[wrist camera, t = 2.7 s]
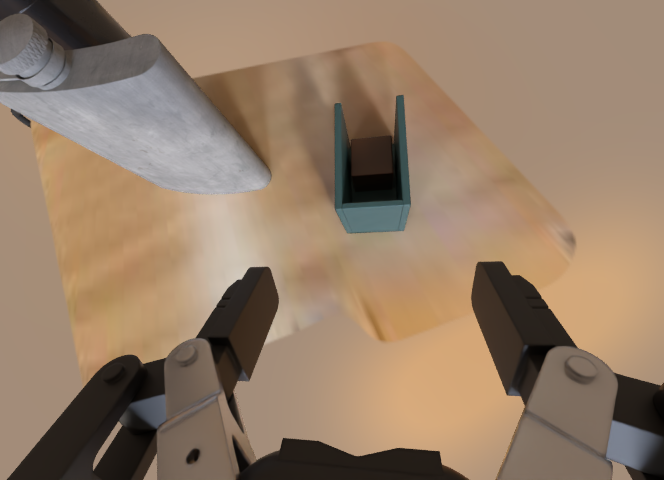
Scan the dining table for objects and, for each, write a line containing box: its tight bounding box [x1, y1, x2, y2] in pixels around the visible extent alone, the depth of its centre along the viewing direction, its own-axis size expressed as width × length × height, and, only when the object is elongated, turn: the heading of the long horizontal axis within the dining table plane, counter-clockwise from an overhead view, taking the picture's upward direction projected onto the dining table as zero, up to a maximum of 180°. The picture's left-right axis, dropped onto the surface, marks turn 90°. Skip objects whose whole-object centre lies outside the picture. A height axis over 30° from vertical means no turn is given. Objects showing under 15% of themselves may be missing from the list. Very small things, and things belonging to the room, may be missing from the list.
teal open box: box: [335, 95, 411, 233], centre depth 27 cm, size 10×6×8 cm, turn 0°
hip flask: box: [0, 13, 271, 194], centre depth 26 cm, size 16×4×20 cm, turn 85°
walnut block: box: [351, 136, 393, 192], centre depth 29 cm, size 4×4×4 cm
